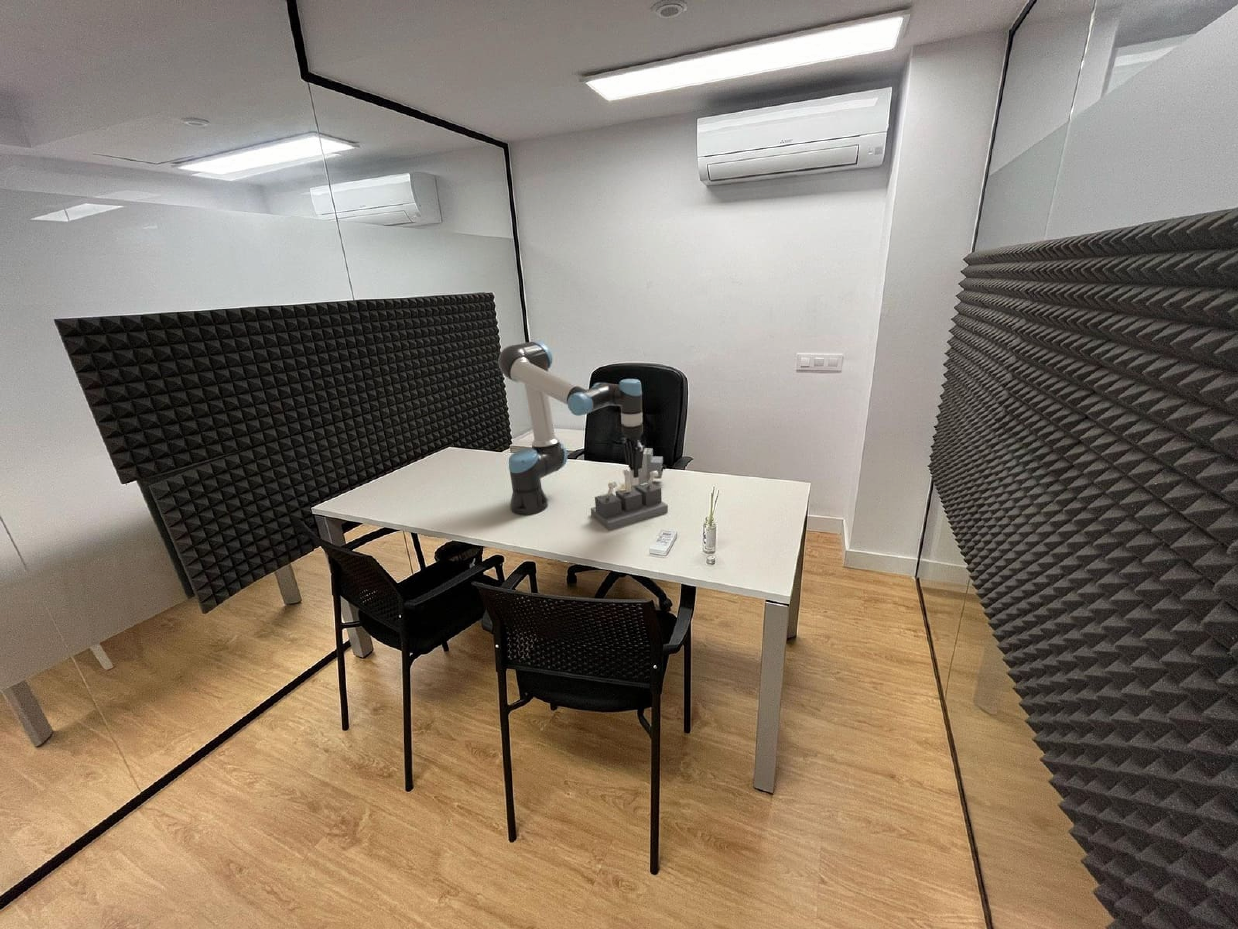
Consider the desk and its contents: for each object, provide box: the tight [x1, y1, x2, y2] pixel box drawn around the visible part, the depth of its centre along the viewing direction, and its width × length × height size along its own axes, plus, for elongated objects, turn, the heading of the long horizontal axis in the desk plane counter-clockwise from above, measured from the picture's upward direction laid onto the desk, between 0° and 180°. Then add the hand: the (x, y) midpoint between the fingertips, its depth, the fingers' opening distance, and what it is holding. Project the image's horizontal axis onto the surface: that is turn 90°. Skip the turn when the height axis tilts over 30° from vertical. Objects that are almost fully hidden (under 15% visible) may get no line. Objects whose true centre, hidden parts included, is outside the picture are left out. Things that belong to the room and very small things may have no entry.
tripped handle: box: [622, 468, 632, 493], centre depth 184 cm, size 2×2×9 cm
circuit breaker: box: [635, 447, 667, 486], centre depth 213 cm, size 8×14×15 cm, turn 78°
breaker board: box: [590, 471, 669, 531], centre depth 186 cm, size 15×26×17 cm, turn 119°
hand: (634, 484), depth 179 cm, fingers closed
